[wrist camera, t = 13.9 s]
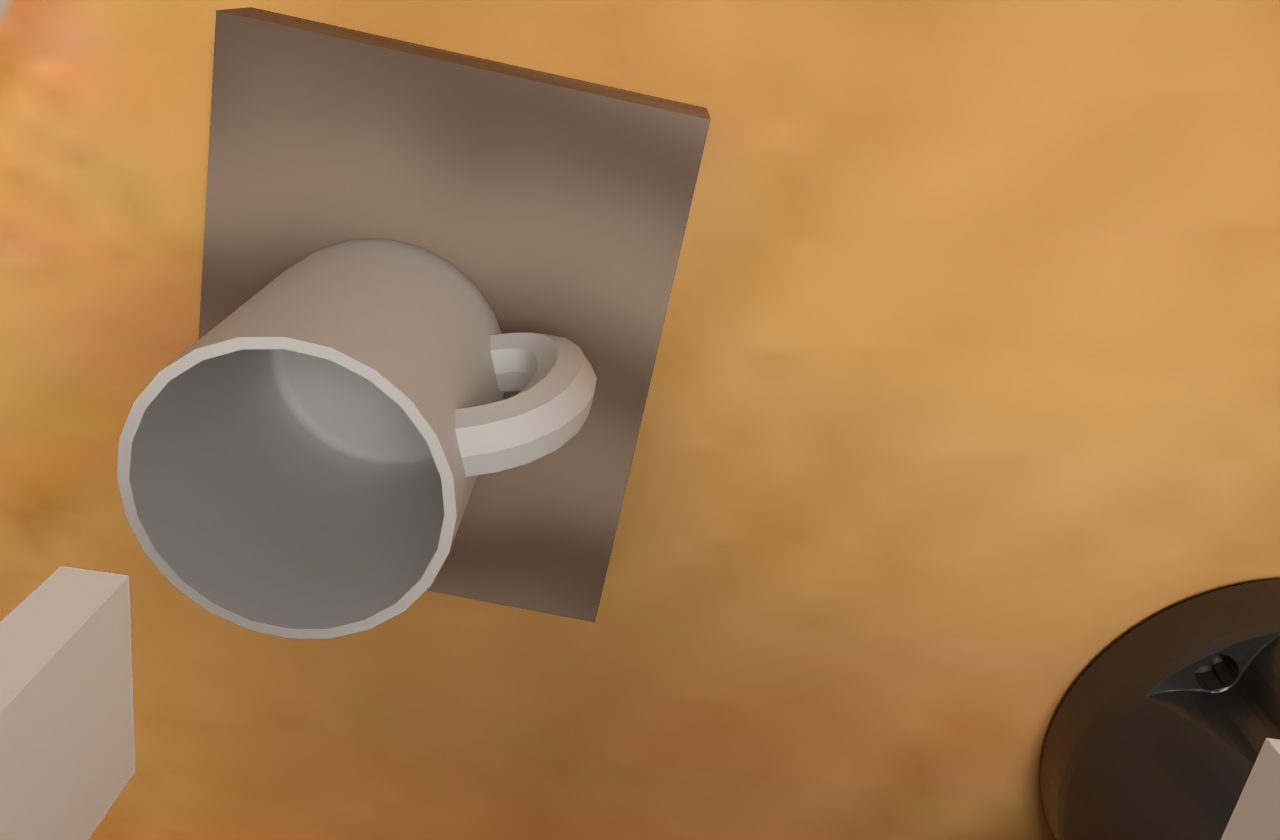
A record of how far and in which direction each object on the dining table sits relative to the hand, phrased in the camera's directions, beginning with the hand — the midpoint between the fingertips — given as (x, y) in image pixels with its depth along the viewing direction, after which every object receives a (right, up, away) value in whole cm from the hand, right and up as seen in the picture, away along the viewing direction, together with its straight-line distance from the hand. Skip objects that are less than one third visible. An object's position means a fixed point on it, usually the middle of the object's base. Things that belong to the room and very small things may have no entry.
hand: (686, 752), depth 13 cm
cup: (-6, +6, +19) cm, 21 cm away
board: (-7, +7, +21) cm, 23 cm away
